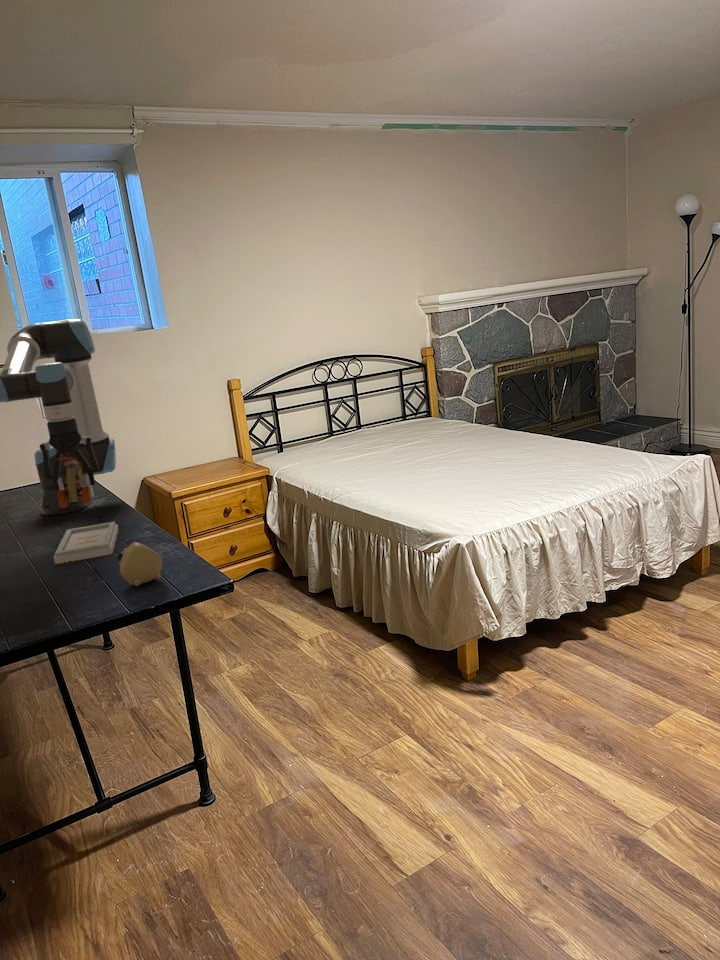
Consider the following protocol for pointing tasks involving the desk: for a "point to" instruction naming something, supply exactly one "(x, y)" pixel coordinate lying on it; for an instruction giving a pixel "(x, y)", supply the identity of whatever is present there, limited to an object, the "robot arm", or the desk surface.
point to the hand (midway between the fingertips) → (78, 498)
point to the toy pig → (139, 564)
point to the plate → (87, 542)
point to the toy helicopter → (73, 484)
